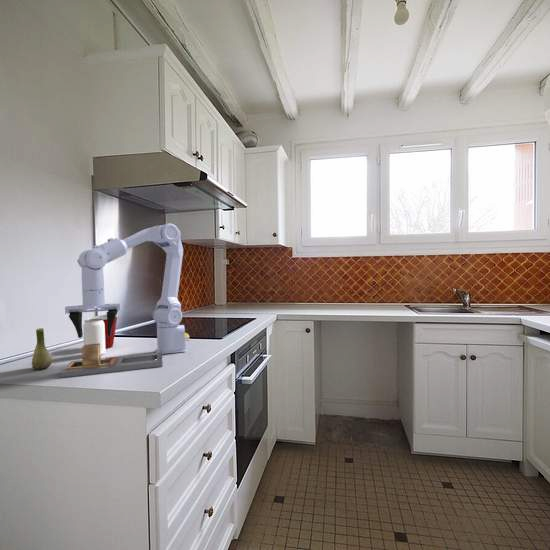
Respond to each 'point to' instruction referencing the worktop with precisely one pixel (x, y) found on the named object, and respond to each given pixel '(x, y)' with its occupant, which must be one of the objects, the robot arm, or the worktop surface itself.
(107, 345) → the plastic cup
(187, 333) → the bread roll
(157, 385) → the worktop surface
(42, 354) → the fennel bulb
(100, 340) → the can
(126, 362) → the rail plate
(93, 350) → the oak peg
